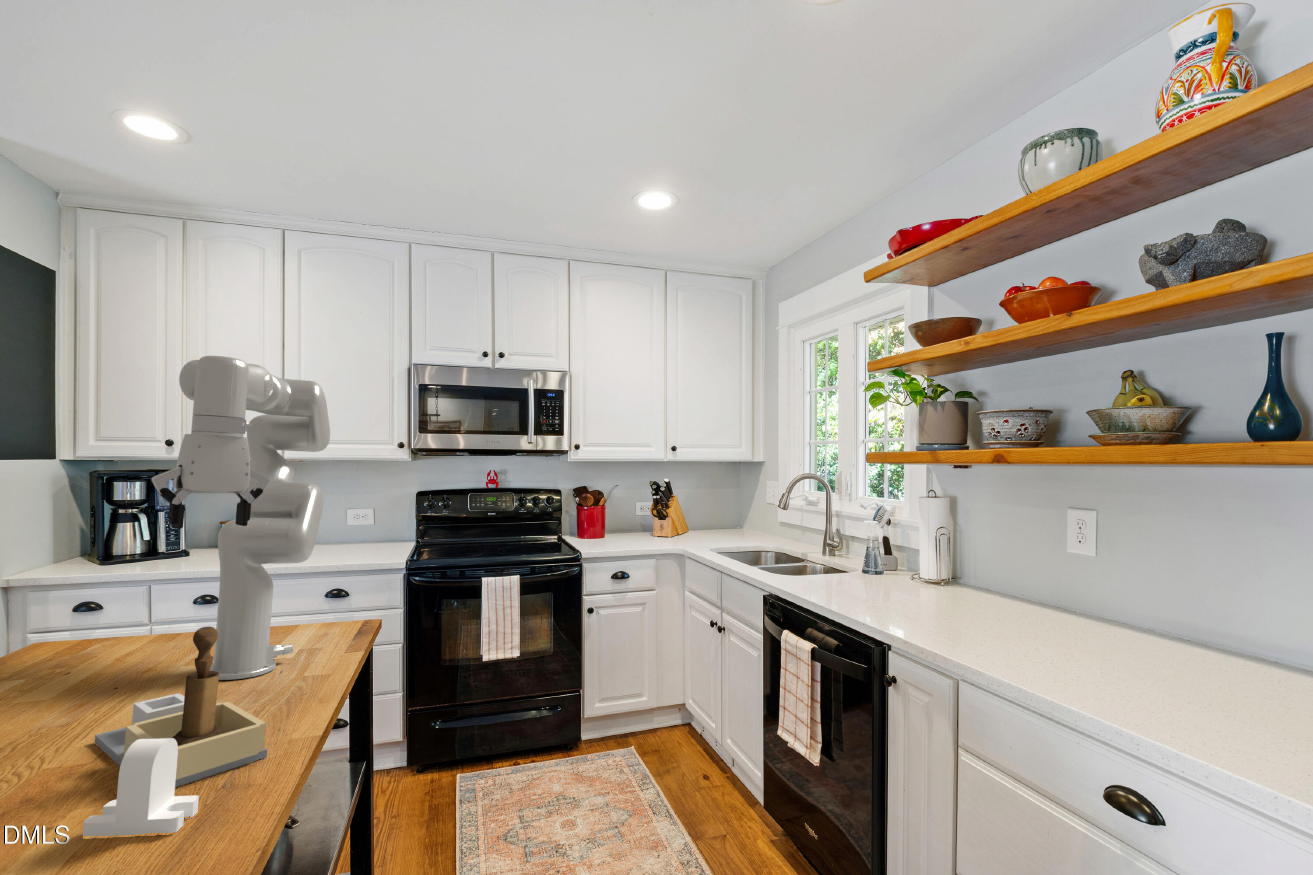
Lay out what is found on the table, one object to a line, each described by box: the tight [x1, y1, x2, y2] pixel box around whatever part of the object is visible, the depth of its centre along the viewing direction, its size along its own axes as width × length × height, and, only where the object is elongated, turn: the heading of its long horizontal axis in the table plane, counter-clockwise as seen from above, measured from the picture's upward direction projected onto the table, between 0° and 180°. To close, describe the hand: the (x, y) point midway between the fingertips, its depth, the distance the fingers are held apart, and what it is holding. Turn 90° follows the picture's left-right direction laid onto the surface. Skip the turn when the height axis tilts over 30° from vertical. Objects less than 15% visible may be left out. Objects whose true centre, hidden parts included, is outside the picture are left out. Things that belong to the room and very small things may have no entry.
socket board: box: [94, 692, 268, 788], centre depth 94 cm, size 14×24×5 cm, turn 55°
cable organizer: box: [82, 738, 200, 836], centre depth 76 cm, size 5×10×10 cm, turn 100°
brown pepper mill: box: [172, 626, 224, 746], centre depth 92 cm, size 7×6×18 cm
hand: (210, 526), depth 108 cm, fingers open, 9 cm apart
